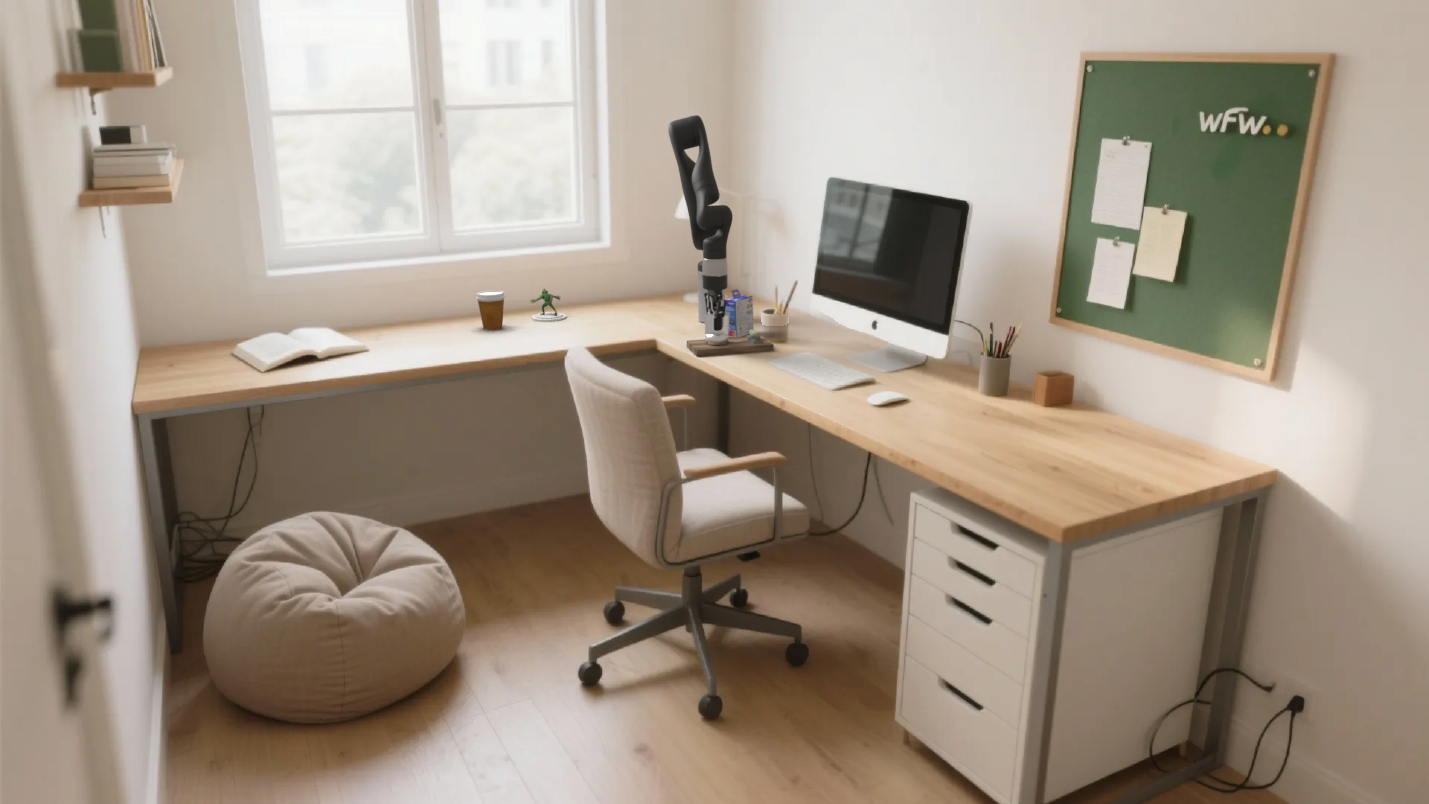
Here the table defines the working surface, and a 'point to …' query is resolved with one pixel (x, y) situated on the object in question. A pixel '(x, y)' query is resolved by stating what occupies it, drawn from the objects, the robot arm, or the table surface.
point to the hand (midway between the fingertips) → (715, 328)
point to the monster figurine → (548, 315)
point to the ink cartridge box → (739, 314)
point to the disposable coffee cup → (491, 309)
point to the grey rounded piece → (716, 336)
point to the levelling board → (732, 345)
